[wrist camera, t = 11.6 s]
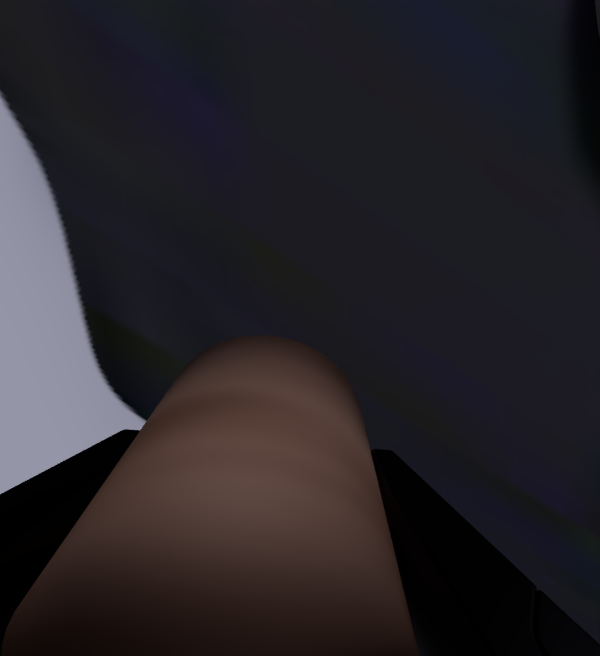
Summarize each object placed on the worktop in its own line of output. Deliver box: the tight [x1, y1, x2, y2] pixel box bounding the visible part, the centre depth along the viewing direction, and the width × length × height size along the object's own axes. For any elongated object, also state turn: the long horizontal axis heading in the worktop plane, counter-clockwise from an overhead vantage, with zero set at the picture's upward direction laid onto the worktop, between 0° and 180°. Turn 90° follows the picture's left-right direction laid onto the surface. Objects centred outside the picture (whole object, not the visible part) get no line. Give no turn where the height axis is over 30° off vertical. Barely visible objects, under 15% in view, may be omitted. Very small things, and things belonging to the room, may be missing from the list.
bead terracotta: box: [1, 335, 419, 656], centre depth 6 cm, size 4×4×5 cm
